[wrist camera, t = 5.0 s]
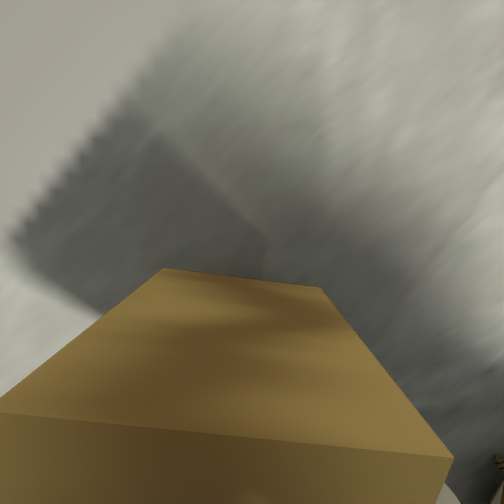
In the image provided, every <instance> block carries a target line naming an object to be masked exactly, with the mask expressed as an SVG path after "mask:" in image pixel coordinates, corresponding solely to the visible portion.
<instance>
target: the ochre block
mask: <svg viewBox="0 0 504 504" xmlns="http://www.w3.org/2000/svg"><path fill="white" fill-rule="evenodd" d="M454 459H455V458H454V456H453V455H452V454H451V452H450V451H449V450H448V449H447V447H446V446H445V445H444V444H443V442H442V441H441V440H440V439H439V437H438V436H437V435H436V434H435V432H434V431H433V430H432V428H431V427H430V426H429V425H428V423H427V422H426V421H425V420H424V418H423V417H422V416H421V415H420V413H419V412H418V411H417V409H416V408H415V407H414V406H413V404H412V403H411V402H410V401H409V399H408V398H407V397H406V396H405V394H404V393H403V392H402V390H401V389H400V388H399V387H398V385H397V384H396V383H395V382H394V380H393V379H392V378H391V377H390V375H389V374H388V373H387V372H386V370H385V369H384V368H383V366H382V365H381V364H380V363H379V361H378V360H377V359H376V358H375V356H374V355H373V354H372V353H371V351H370V350H369V349H368V347H367V346H366V345H365V344H364V342H363V341H362V340H361V339H360V337H359V336H358V335H357V334H356V332H355V331H354V330H353V328H352V327H351V326H350V325H349V323H348V322H347V321H346V320H345V318H344V317H343V316H342V315H341V313H340V312H339V311H338V310H337V308H336V307H335V306H334V304H333V303H332V302H331V301H330V299H329V298H328V297H327V296H326V294H325V293H324V292H323V291H322V289H321V288H319V287H311V286H303V285H295V284H287V283H279V282H271V281H263V280H256V279H248V278H240V277H232V276H224V275H216V274H208V273H201V272H193V271H185V270H177V269H169V268H162V269H161V270H160V271H159V272H157V273H156V274H155V275H154V276H152V277H151V278H150V279H149V280H147V281H146V282H145V283H144V284H142V285H141V286H140V287H139V288H137V289H136V290H135V291H134V292H132V293H131V294H130V295H129V296H127V297H126V298H125V299H124V300H122V301H121V302H120V303H119V304H117V305H116V306H115V307H114V308H112V309H111V310H110V311H109V312H107V313H106V314H105V315H104V316H102V317H101V318H100V319H99V320H97V321H96V322H95V323H94V324H92V325H91V326H90V327H89V328H87V329H86V330H85V331H84V332H82V333H81V334H80V335H79V336H77V337H76V338H75V339H74V340H72V341H71V342H70V343H69V344H67V345H66V346H65V347H64V348H62V349H61V350H60V351H59V352H57V353H56V354H55V355H54V356H52V357H51V358H50V359H49V360H47V361H46V362H45V363H44V364H42V365H41V366H40V367H38V368H37V369H36V370H35V371H33V372H32V373H31V374H30V375H28V376H27V377H26V378H25V379H23V380H22V381H21V382H20V383H18V384H17V385H16V386H15V387H13V388H12V389H11V390H10V391H8V392H7V393H6V394H5V395H3V396H2V397H1V398H0V504H435V503H436V501H437V498H438V496H439V494H440V491H441V489H442V487H443V484H444V482H445V480H446V477H447V475H448V473H449V470H450V468H451V466H452V463H453V461H454Z"/></svg>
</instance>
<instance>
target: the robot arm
mask: <svg viewBox="0 0 504 504" xmlns="http://www.w3.org/2000/svg"><path fill="white" fill-rule="evenodd" d="M435 504H463V503H461V502H459V500H458V499H457V497H456V496H455V494H454V493H453V492H452V491H451V489H450V488H449V487H448V486H447V485H446V484H445V483H444V484H443V487H442V489H441V491H440V494H439V496H438V498H437V501H436V503H435Z"/></svg>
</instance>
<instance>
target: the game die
mask: <svg viewBox="0 0 504 504" xmlns="http://www.w3.org/2000/svg"><path fill="white" fill-rule="evenodd" d="M495 458H496V462H495V464H497V465H498V466H499V469H501V470H502V471H503V472H504V460H502V459H501V458H500V457H499V456H497V455H496V454H495ZM489 504H504V478H503V480H502V481H501V483H500V485H499V487H498V488H497V490H496V492H495V494H494V495H493V497H492V499H491V501H490V502H489Z"/></svg>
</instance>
